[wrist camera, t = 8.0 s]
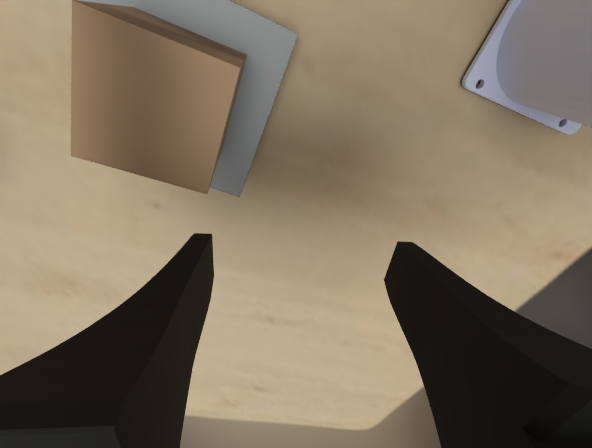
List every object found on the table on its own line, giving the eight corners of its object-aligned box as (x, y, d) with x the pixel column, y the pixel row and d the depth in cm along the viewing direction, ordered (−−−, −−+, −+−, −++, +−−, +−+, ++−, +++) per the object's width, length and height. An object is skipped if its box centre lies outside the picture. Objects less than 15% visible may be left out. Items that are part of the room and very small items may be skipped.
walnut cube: (247, 54, 14) (240, 67, 10) (221, 151, 17) (207, 194, 13) (133, 7, 13) (72, -1, 9) (122, 119, 16) (70, 155, 11)
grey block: (292, 32, 17) (298, 34, 14) (242, 172, 21) (239, 196, 18) (117, -55, 15) (80, -74, 12) (100, 125, 19) (71, 143, 16)
